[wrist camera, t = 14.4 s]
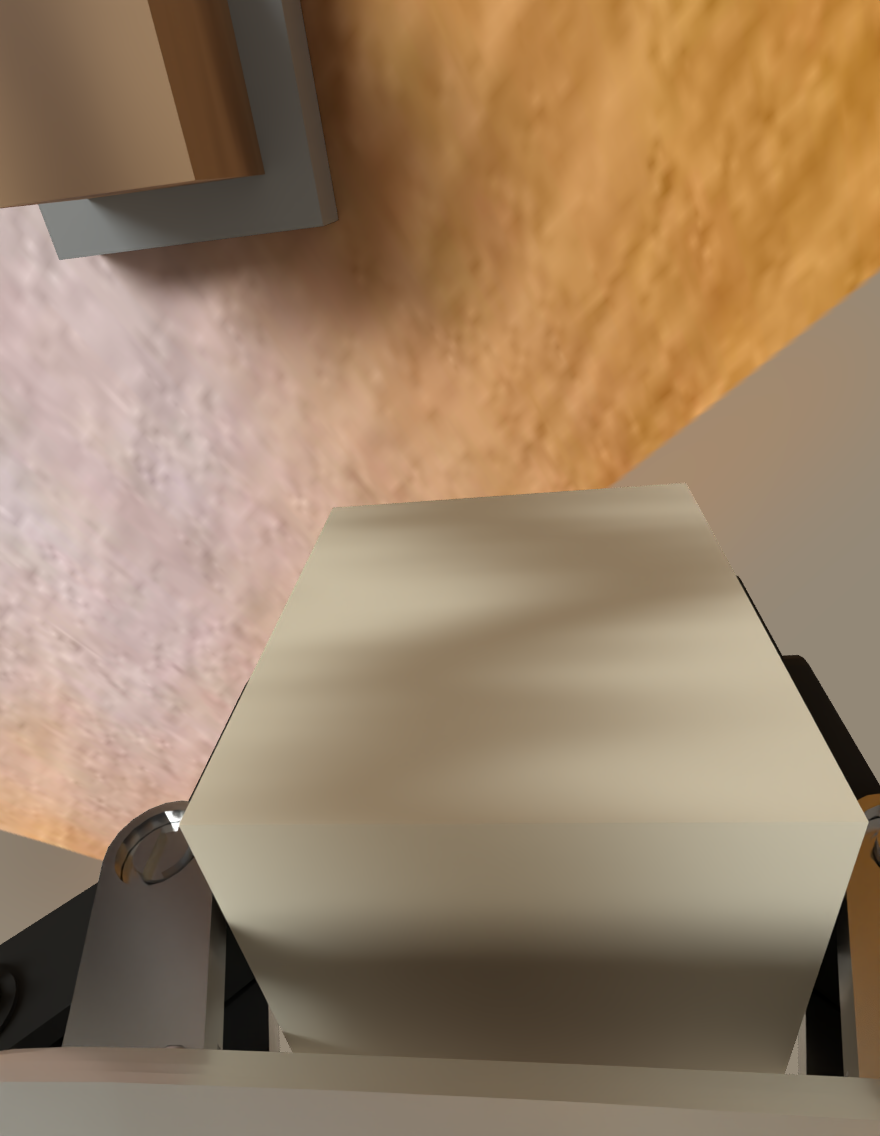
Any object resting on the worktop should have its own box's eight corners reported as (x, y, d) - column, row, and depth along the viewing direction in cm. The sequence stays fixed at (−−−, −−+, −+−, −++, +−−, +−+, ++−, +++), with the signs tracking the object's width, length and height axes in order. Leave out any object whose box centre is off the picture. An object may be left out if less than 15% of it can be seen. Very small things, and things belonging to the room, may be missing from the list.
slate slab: (273, -152, 20) (246, -189, 18) (338, 219, 25) (323, 226, 23) (-26, -91, 21) (-85, -118, 19) (94, 251, 26) (59, 259, 24)
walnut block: (207, -89, 19) (100, -177, 14) (265, 174, 22) (195, 180, 17) (2, -49, 20) (-171, -119, 15) (87, 198, 23) (-30, 211, 18)
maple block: (685, 482, 10) (868, 822, 5) (665, 741, 13) (767, 1125, 8) (333, 507, 11) (178, 824, 6) (387, 747, 14) (316, 1100, 9)
